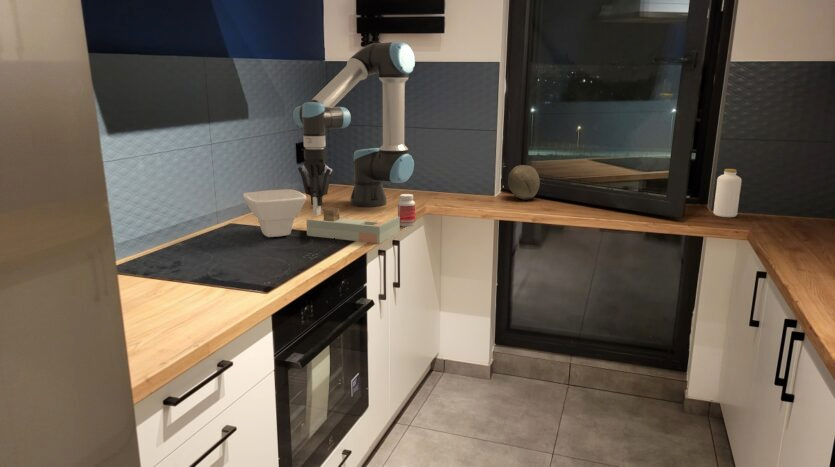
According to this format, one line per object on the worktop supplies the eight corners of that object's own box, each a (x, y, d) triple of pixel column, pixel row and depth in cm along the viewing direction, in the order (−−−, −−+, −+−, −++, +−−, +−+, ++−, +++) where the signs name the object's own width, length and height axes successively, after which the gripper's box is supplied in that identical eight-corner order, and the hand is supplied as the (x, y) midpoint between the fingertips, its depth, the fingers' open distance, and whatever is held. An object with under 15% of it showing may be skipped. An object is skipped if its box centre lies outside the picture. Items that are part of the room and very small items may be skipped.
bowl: (255, 245, 198) (252, 202, 195) (242, 232, 215) (239, 192, 212) (312, 239, 207) (310, 197, 203) (295, 226, 223) (293, 188, 220)
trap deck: (330, 225, 225) (330, 210, 224) (399, 232, 216) (399, 216, 214) (307, 235, 211) (306, 219, 210) (379, 243, 201) (379, 226, 200)
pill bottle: (418, 225, 225) (418, 195, 223) (404, 227, 222) (403, 197, 219) (409, 222, 230) (409, 192, 228) (394, 224, 227) (394, 194, 224)
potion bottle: (736, 214, 245) (742, 168, 241) (737, 218, 238) (743, 171, 234) (713, 212, 249) (718, 167, 244) (713, 216, 241) (718, 170, 237)
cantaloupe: (544, 198, 277) (545, 164, 273) (531, 203, 265) (533, 168, 262) (514, 195, 284) (515, 162, 281) (501, 200, 273) (502, 165, 269)
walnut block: (329, 218, 223) (329, 207, 222) (339, 219, 222) (339, 208, 221) (323, 220, 220) (323, 209, 219) (333, 221, 218) (333, 210, 217)
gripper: (292, 148, 216) (295, 215, 221) (325, 149, 211) (327, 218, 217) (304, 146, 222) (307, 211, 228) (336, 147, 218) (338, 214, 223)
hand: (317, 214), depth 222 cm, fingers closed
